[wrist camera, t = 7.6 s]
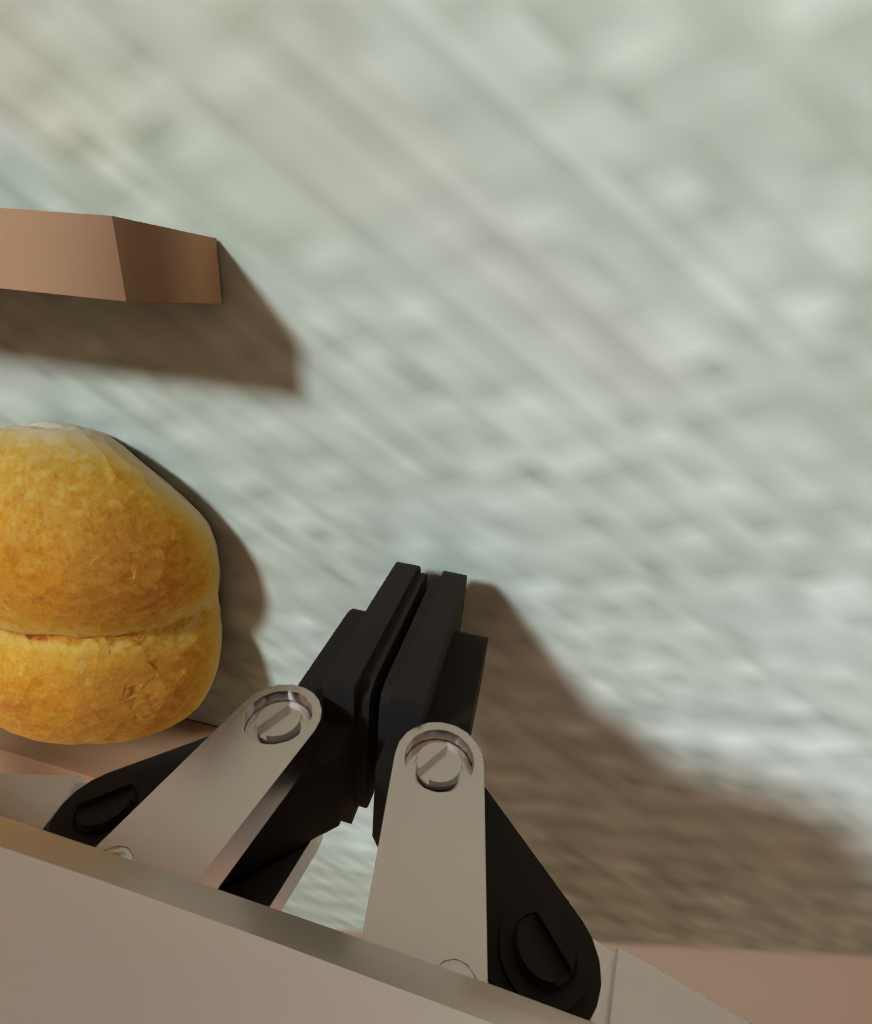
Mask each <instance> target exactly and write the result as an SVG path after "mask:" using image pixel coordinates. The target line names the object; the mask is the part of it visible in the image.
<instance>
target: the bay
mask: <svg viewBox="0 0 872 1024" xmlns="http://www.w3.org/2000/svg"><path fill="white" fill-rule="evenodd" d="M0 288H2V289H12V290H21V291H30V292H40V293H49V294H59V295H68V296H78V297H87V298H97V299H106V300H116V301H125V302H168V303H215V304H222V296H221V286H220V275H219V264H218V254H217V243H216V238H211V237H207V236H202V235H198V234H193V233H188V232H184V231H179V230H174V229H170V228H165V227H160V226H156V225H151V224H147V223H142V222H137V221H133V220H128V219H123V218H119V217H114V216H104V215H90V214H76V213H62V212H48V211H34V210H20V209H5V208H0ZM216 729H217V728H216V727H212V726H209V725H205V724H201V723H198V722H194V721H190V720H186V719H184V720H182V721H180V722H179V723H177V724H175V725H173V726H171V727H169V728H167V729H164V730H162V731H160V732H157V733H154V734H152V735H149V736H146V737H143V738H139V739H135V740H131V741H126V742H118V743H105V744H76V745H67V744H56V743H46V742H41V741H35V740H31V739H28V738H25V737H23V736H19V735H16V734H13V733H11V732H9V731H7V730H5V729H3V728H1V727H0V773H19V774H43V775H67V776H81V777H82V780H83V783H88V782H90V781H91V780H93V779H95V778H98V777H100V776H102V775H104V774H106V773H109V772H111V771H114V770H117V769H120V768H122V767H125V766H128V765H131V764H133V763H136V762H139V761H142V760H144V759H147V758H150V757H153V756H155V755H158V754H161V753H164V752H166V751H169V750H172V749H175V748H178V747H180V746H183V745H186V744H189V743H191V742H194V741H197V740H200V739H202V738H205V737H208V736H210V735H211V734H212V733H213V732H214V731H215V730H216Z"/></svg>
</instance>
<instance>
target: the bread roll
mask: <svg viewBox="0 0 872 1024" xmlns="http://www.w3.org/2000/svg"><path fill="white" fill-rule="evenodd" d="M219 582H220V565H219V557H218V549H217V543H216V541H215V538H214V536H213V533H212V531H211V528H210V526H209V523H208V522H207V521H206V519H205V518H204V517H203V516H202V515H201V513H200V512H199V511H198V510H197V509H196V508H194V507H193V506H192V505H191V504H190V503H189V502H188V500H187V499H186V498H185V497H184V496H182V495H181V494H180V493H179V492H177V491H176V490H175V489H174V488H173V487H172V486H171V485H170V484H169V483H168V482H167V481H165V480H164V479H163V478H162V477H160V476H159V475H158V474H156V473H155V472H154V471H152V470H151V469H150V468H149V467H147V466H146V465H145V464H144V463H143V462H141V461H140V460H139V459H138V458H136V457H135V456H134V455H133V454H132V453H131V452H130V451H129V450H127V449H126V448H125V447H124V446H123V445H121V444H120V443H118V442H117V441H116V440H115V439H113V438H112V437H110V436H108V435H106V434H104V433H101V432H98V431H95V430H92V429H89V428H83V427H79V426H75V425H72V424H66V423H60V422H38V423H31V424H28V425H24V426H16V425H15V426H10V427H5V428H0V727H1V728H3V729H5V730H7V731H9V732H11V733H13V734H16V735H19V736H23V737H25V738H28V739H31V740H35V741H41V742H46V743H56V744H67V745H76V744H105V743H118V742H126V741H131V740H135V739H139V738H143V737H146V736H149V735H152V734H154V733H157V732H160V731H162V730H164V729H167V728H169V727H171V726H173V725H175V724H177V723H179V722H180V721H182V720H184V719H185V718H187V717H188V716H189V715H190V714H191V713H192V712H193V711H195V710H196V709H197V708H198V707H199V706H200V705H201V703H202V702H203V700H204V698H205V697H206V695H207V693H208V692H209V690H210V688H211V686H212V683H213V681H214V678H215V676H216V673H217V669H218V665H219V660H220V653H221V646H222V622H221V607H220V605H219V598H218V590H219Z"/></svg>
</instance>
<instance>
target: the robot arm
mask: <svg viewBox="0 0 872 1024" xmlns="http://www.w3.org/2000/svg"><path fill="white" fill-rule="evenodd" d="M427 581H428V575H427V574H425V573H421V569H420V566H416V565H411V564H406V563H401V562H397V563H396V564H395V565H394V567H393V568H392V570H391V572H390V573H389V575H388V576H387V578H386V580H385V581H384V583H383V584H382V586H381V587H380V589H379V591H378V592H377V594H376V595H375V597H374V599H373V600H372V602H371V603H370V605H369V607H368V608H367V610H366V611H362V610H357V609H351V610H350V611H349V612H348V613H347V614H346V616H345V617H344V619H343V620H342V622H341V623H340V625H339V626H338V628H337V629H336V630H335V632H334V633H333V635H332V636H331V638H330V639H329V641H328V642H327V644H326V645H325V647H324V648H323V649H322V651H321V652H320V654H319V655H318V657H317V658H316V660H315V661H314V663H313V664H312V666H311V667H310V669H309V670H308V671H307V673H306V674H305V676H304V677H303V679H302V680H301V682H300V683H299V685H298V686H296V685H277V686H273V687H268V688H266V689H264V690H261V691H259V692H257V693H255V694H254V695H252V696H251V697H250V698H248V699H247V700H246V701H245V702H244V703H243V704H242V705H241V706H239V707H238V708H237V709H236V710H235V711H234V712H233V713H232V714H231V715H230V716H229V717H228V718H227V719H226V720H225V721H224V722H223V723H222V724H221V725H220V726H219V727H218V728H217V729H216V730H215V731H214V732H213V733H212V734H211V735H210V736H208V737H205V738H202V739H200V740H197V741H194V742H191V743H189V744H186V745H183V746H180V747H178V748H175V749H172V750H169V751H166V752H164V753H161V754H158V755H155V756H153V757H150V758H147V759H144V760H142V761H139V762H136V763H133V764H131V765H128V766H125V767H122V768H120V769H117V770H114V771H111V772H109V773H106V774H104V775H102V776H100V777H98V778H95V779H93V780H91V781H90V782H88V783H83V780H82V777H81V776H67V775H43V774H19V773H0V1024H751V1023H750V1022H748V1021H746V1020H745V1019H743V1018H741V1017H740V1016H738V1015H736V1014H734V1013H733V1012H731V1011H729V1010H728V1009H726V1008H724V1007H723V1006H721V1005H719V1004H717V1003H716V1002H714V1001H712V1000H710V999H709V998H707V997H706V996H704V995H702V994H700V993H699V992H697V991H695V990H694V989H692V988H690V987H689V986H687V985H685V984H683V983H682V982H680V981H678V980H677V979H675V978H673V977H672V976H670V975H668V974H666V973H665V972H663V971H661V970H660V969H658V968H656V967H654V966H653V965H651V964H649V963H647V962H646V961H644V960H642V959H641V958H639V957H637V956H636V955H634V954H632V953H631V952H629V951H627V950H626V949H624V948H622V947H620V946H619V947H618V949H617V951H616V952H615V951H613V950H611V949H610V948H608V947H606V946H605V945H603V944H601V943H600V942H598V941H596V940H595V939H593V938H592V937H591V935H590V934H589V932H588V930H587V928H586V927H585V925H584V923H583V921H582V920H581V918H580V917H579V916H578V914H577V913H576V911H575V910H574V909H573V907H572V906H571V905H570V903H569V902H568V901H567V899H566V898H565V896H564V895H563V894H562V892H561V891H560V890H559V888H558V887H557V885H556V884H555V883H554V881H553V880H552V879H551V877H550V876H549V874H548V873H547V872H546V870H545V869H544V868H543V866H542V865H541V863H540V862H539V861H538V859H537V858H536V857H535V855H534V854H533V852H532V851H531V850H530V848H529V847H528V846H527V844H526V843H525V841H524V840H523V839H522V837H521V836H520V835H519V833H518V832H517V830H516V829H515V828H514V826H513V825H512V824H511V822H510V821H509V819H508V818H507V817H506V815H505V814H504V813H503V811H502V810H501V808H500V807H499V806H498V804H497V803H496V802H495V800H494V799H493V797H492V796H491V795H490V793H489V792H488V791H487V789H486V788H485V786H484V762H483V757H482V752H481V750H480V748H479V747H478V745H477V743H476V741H475V740H474V739H473V738H472V737H471V732H472V727H473V722H474V717H475V712H476V707H477V701H478V696H479V691H480V685H481V680H482V674H483V668H484V662H485V656H486V650H487V644H488V638H486V637H481V636H477V635H472V634H468V633H463V632H460V627H461V620H462V612H463V605H464V597H465V589H466V582H467V575H462V574H457V573H452V572H447V571H443V573H442V576H436V575H434V576H433V577H432V580H431V582H430V584H429V586H428V588H427ZM374 790H375V791H374ZM373 793H374V812H373V833H372V836H373V838H374V840H375V843H376V845H377V847H378V851H377V856H376V862H375V867H374V873H373V878H372V884H371V889H370V895H369V901H368V906H367V912H366V917H365V923H364V928H363V934H362V939H360V938H357V937H354V936H351V935H348V934H346V933H343V932H340V931H337V930H334V929H331V928H328V927H326V926H323V925H320V924H317V923H314V922H311V921H308V920H305V919H302V918H299V917H297V916H294V915H291V914H288V913H285V912H282V911H281V910H282V909H283V907H284V905H285V904H286V902H287V900H288V899H289V897H290V895H291V894H292V892H293V890H294V889H295V887H296V885H297V884H298V882H299V880H300V879H301V877H302V875H303V874H304V872H305V870H306V869H307V867H308V865H309V864H310V862H311V860H312V859H313V857H314V855H315V854H316V852H317V850H318V848H319V846H320V844H321V841H322V839H323V834H324V833H326V832H328V831H330V830H331V829H333V828H335V827H337V826H339V824H340V822H341V821H343V822H347V823H350V824H352V821H353V819H354V816H355V814H356V811H357V809H358V806H361V807H364V808H367V807H368V805H369V803H370V801H371V798H372V796H373Z"/></svg>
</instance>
